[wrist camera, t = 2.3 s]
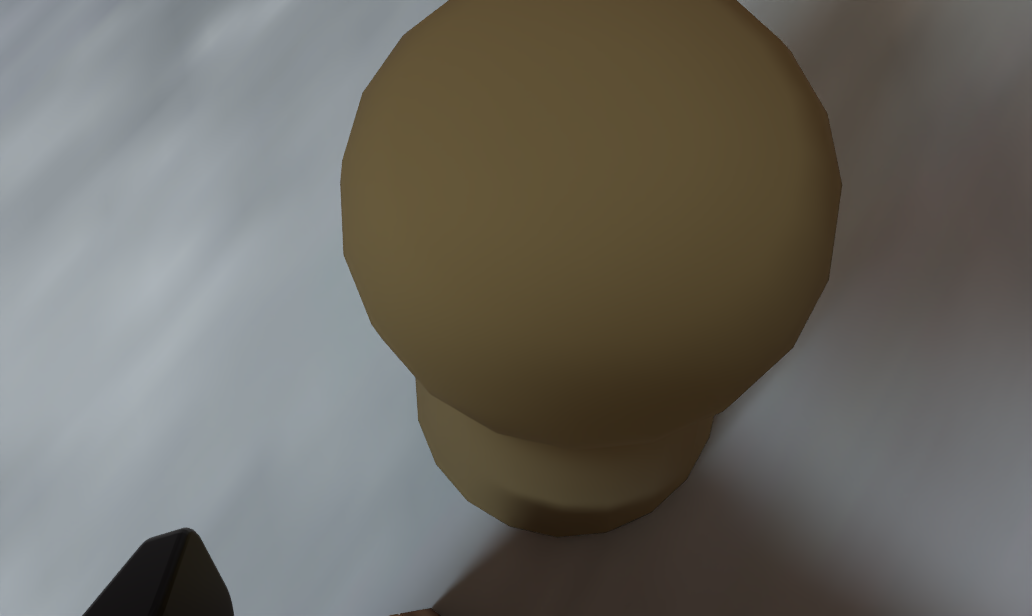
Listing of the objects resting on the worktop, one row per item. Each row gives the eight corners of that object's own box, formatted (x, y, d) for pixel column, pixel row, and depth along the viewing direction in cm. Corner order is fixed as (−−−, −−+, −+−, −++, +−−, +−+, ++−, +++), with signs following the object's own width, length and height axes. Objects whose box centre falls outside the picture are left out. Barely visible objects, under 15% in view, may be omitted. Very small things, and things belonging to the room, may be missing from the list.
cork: (366, 468, 19) (139, 312, 8) (482, 201, 20) (418, -220, 10) (658, 586, 18) (824, 585, 7) (756, 300, 19) (1011, -41, 9)
